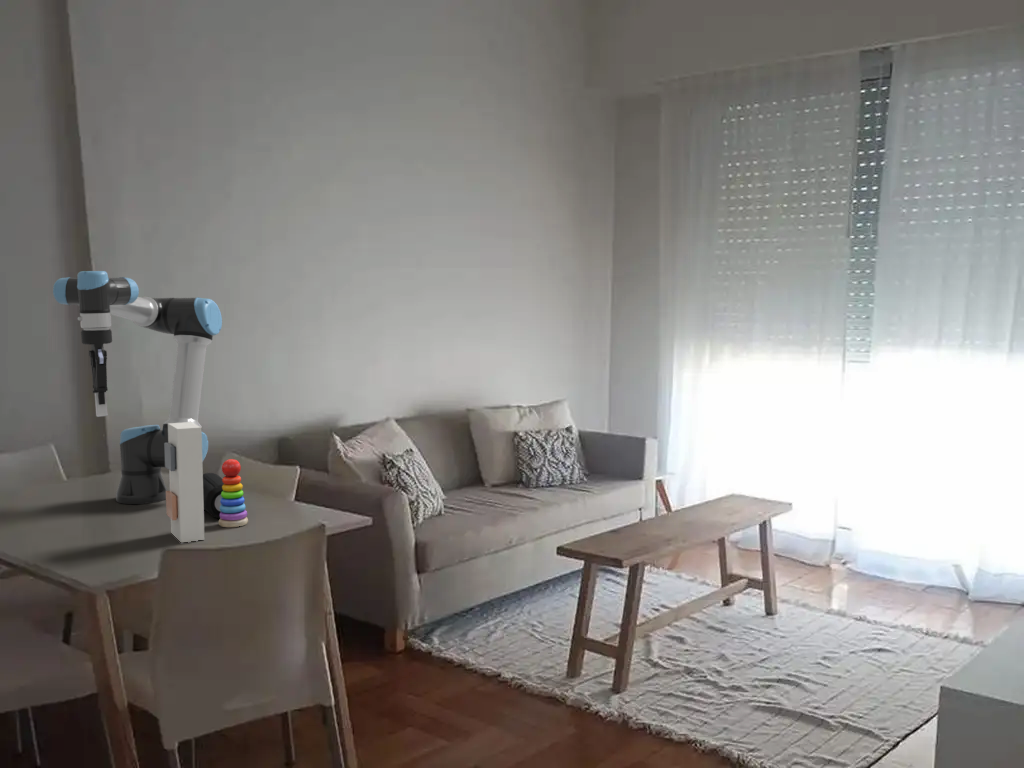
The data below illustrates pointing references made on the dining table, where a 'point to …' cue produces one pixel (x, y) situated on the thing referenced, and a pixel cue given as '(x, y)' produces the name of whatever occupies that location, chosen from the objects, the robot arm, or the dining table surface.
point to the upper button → (170, 456)
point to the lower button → (171, 505)
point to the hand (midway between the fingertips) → (102, 415)
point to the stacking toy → (232, 496)
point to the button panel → (187, 481)
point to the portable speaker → (212, 493)
